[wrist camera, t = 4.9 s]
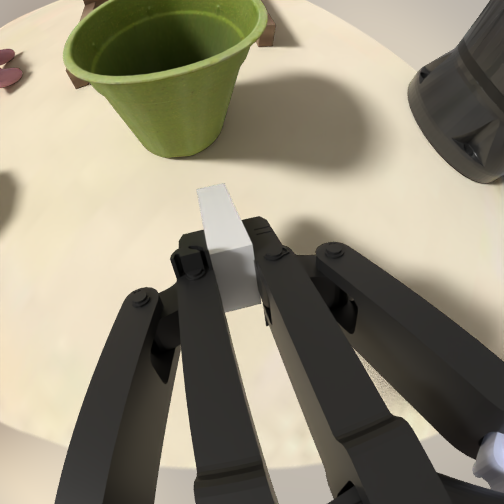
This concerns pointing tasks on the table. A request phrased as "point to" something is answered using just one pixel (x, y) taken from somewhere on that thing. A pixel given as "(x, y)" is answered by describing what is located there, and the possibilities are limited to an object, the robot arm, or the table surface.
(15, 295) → the table surface
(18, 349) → the table surface
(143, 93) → the plant pot
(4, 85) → the video game controller
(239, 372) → the robot arm
